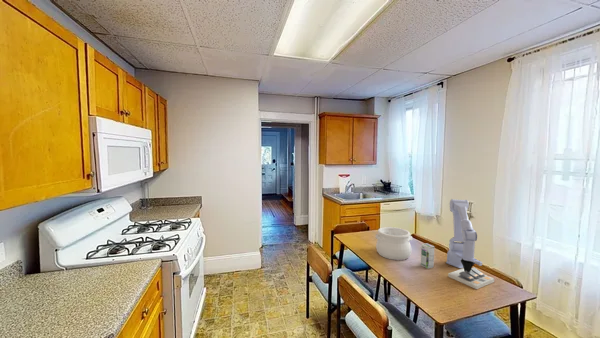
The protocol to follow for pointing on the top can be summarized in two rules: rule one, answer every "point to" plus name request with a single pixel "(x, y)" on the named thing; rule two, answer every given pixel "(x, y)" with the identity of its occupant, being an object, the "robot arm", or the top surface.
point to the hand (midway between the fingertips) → (467, 272)
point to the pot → (393, 243)
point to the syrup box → (427, 255)
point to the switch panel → (474, 282)
